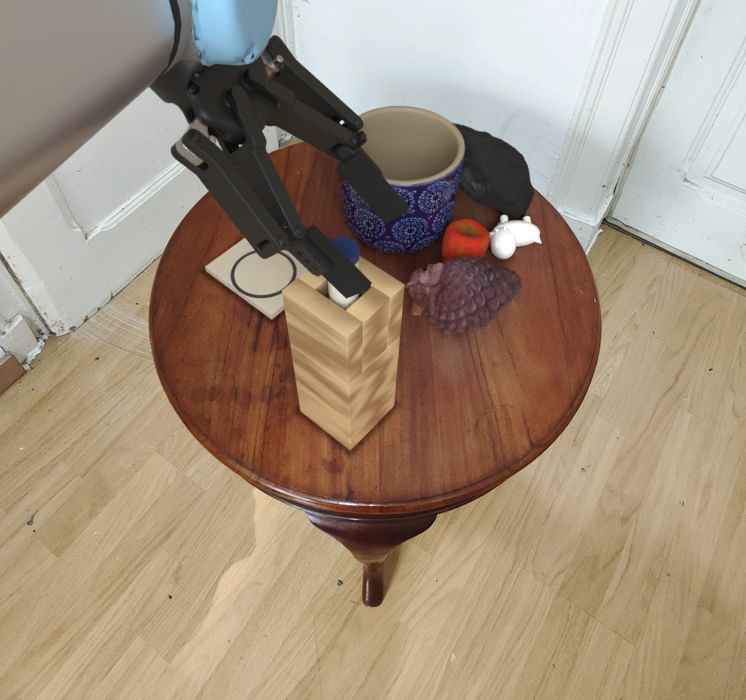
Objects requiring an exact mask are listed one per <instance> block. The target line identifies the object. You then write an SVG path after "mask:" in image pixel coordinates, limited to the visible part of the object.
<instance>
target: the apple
mask: <svg viewBox="0 0 746 700" xmlns="http://www.w3.org/2000/svg"><path fill="white" fill-rule="evenodd" d="M490 235H491V234H490V232H489V230H487V228H486V227H484V226H483V224H482V223H479V222H478V221H476V220H474V219H471V218H470V219H469V218H459V219H454V220H453V221H451V222H450V224H449V225H448V226H447V228H446V230H445V233H444V234H443V238H442V243H441V257H442V263H444V262H446V261H447V260H448V259H450V258H456V257H459V256H460V257H461V256H466V257H470V258H471V257H474V256H476V257H477V258H481V259H482V260H483V259H484V257H485V256H486V253H487V251H488V249H489V246H490Z"/></svg>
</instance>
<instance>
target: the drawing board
mask: <svg viewBox="0 0 746 700" xmlns="http://www.w3.org/2000/svg"><path fill="white" fill-rule="evenodd" d="M204 268H205V271H206V273H208V274H209V275H211V276H212V277H213V278H215V279H216V280H217V281H218V282H220V283H221V284H222V285H224V286H225V287H227V288H228V289H230V290H231V291H232V292H233V293H235V294H236V295H238V296H239V297H240V298H242V299H243V300H245V301H246V302H247V303H248V304H250V305H251V306H253V307H254V308H255V309H257V310H258V311H259V312H261V314H263V315H264V316H266V317H267V318H269V319H270V320H274V318H276V317H277V316H278V315H279V314H281V313H282V312H283V311H285V308H284V301H283V295H282V290H283V289H284V288H286V287H287V286H288V285H289V284H291V283H292V282H293V281H294V280H296V279H297V278H298V277H299V276H301V275H302V274H303V273H304V272H306V271H307V269H306V268H305V267H304V265H302V264H301V263H300V262H299V261H298V260H297V259H296V258H295V257H294V256H293V255H292V254H291V253H289V252H288V251H285V250H282V251H281V252H279V253H277V254H275V255H273V256H271V257H269V258H267V259H263V258H261V257H260V256H259V255H258V254H257V253H256V251H255V250H254V249H253V248H252V246H251V245H250V244H249V242H248V241H247V240H246V238H245V237H244V238H242V239H241V240H240V241H238V242H237V243H236V244H234V245H233V246H231V247H230V248H229V249H226V251H224V252H223V253H222V254H221V255H219V256H218V257H216V258H215V259H214V260H212V261H210V262H209V263H208V264H207V265H205V266H204Z"/></svg>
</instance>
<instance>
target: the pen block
mask: <svg viewBox="0 0 746 700" xmlns="http://www.w3.org/2000/svg"><path fill="white" fill-rule="evenodd" d="M359 270H360V271H361V272H362V273H363V274H364V275H365V276H366V277H367V278H368V279H369V280H370V281H371V282H372V284H371V286H370V288H369V290H367V291H364V292H362V293H359V299H358V300H357V301H356V302H354V303H353V304H352V305H351V306H350V307H349V308H348V309H346V311H345V310H344V309H342V308H341V307H340V306H338V305H337V304H335V303H334V302H332V301H331V300H329V290H328V281H327V280H326V279H325V278H324V277H323V276H322V275H320V276H318V277H317V276H315V275H313V274H311V273H310V272H309V271H308V270H307V271H306V272H304V273H303V274H302V275H301V276H299V277H298V278H297V279H296V280H294V281H293V282H292V283H291V284H289V285H288V286H287V287H286V288H284V289H283V290H282V295H283V301H284V308H285V309H284V313H285V320H286V321H285V322H286V326H287V327H286V328H287V333H288V339H289V346H290V351H291V358H292V365H293V372H294V377H295V385H296V391H297V397H298V398H297V399H298V405H299V411H300V412H301V414H303V415H305V416H306V417H307V419H309V420H311V421H312V422H313V423H314V424H316V425H317V426H318V427H320V428H321V429H322V430H324V432H326V433H327V434H328V435H330V436H331V437H332V438H333V439H335V440H336V441H337V442H338V443H340V444H341V445H342V446H343V447H345V448H346V449H347V450H348V451H352V450H353V449H354V447H355V446H357V445H358V443H359V442H360V441H361V440H362V439H364V438H365V436H366V435H368V433H370V431H371V430H372V429H373V428H374V427H375V426H376V425H377V424H378V423H379V422H380V421H381V420H382V419H383V418H384V417H385V416H386V415H387V414H388V413H389V411H390V410H392V408H393V407H395V400H396V399H395V398H396V388H397V379H398V378H397V377H398V366H399V354H400V341H401V331H402V320H403V307H404V306H403V305H404V297H405V283H403V282H401V281H400V280H398V279H397V278H395V277H394V276H392V275H391V274H389V273H388V272H386V271H384V270H383V269H382V268H380V267H378V266H377V265H375V264H373V263H372V262H371V261H368V259H366V258H364V257H362V256H361V255H359Z"/></svg>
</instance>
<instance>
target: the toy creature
mask: <svg viewBox="0 0 746 700" xmlns="http://www.w3.org/2000/svg"><path fill="white" fill-rule="evenodd" d="M499 220H500V221H499V222H497V225H495V226H494V228H493V229H492V231H490V232H489V233H490V243H489V246H490V251H491V253H492V254H493V256H495V257H496V258H498V260H499V259H500V260H507V259H509V258H511V257H512V256H513V254H514V253H515V252H516V248H517V247H525V246H528V245H531V244H533V243H537V244H543V242H542V240H541V237H540V236H541V230H540V228H539V227H538V226H537V225H535V224H534V223H532V219H531V217H530V216H529V215H525V216H524V218H523V219H522V220H519V219H513V220H509V215H506V214H502V215H500V217H499Z"/></svg>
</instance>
